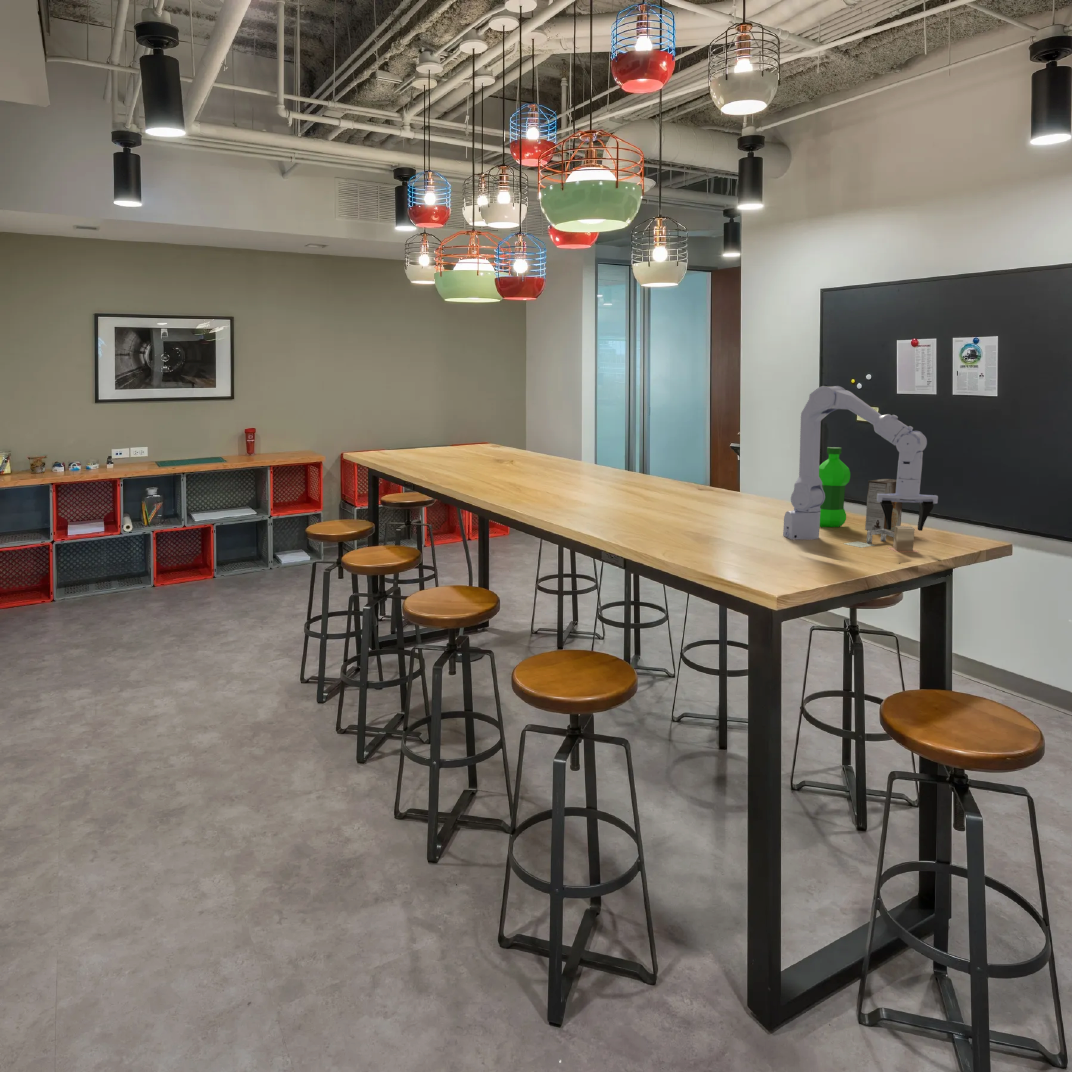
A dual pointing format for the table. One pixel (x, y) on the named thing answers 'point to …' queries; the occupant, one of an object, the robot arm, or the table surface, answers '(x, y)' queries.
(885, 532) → the bent wire
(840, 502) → the plastic bottle
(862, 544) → the board
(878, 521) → the coffee box
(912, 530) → the birch block
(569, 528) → the table surface
